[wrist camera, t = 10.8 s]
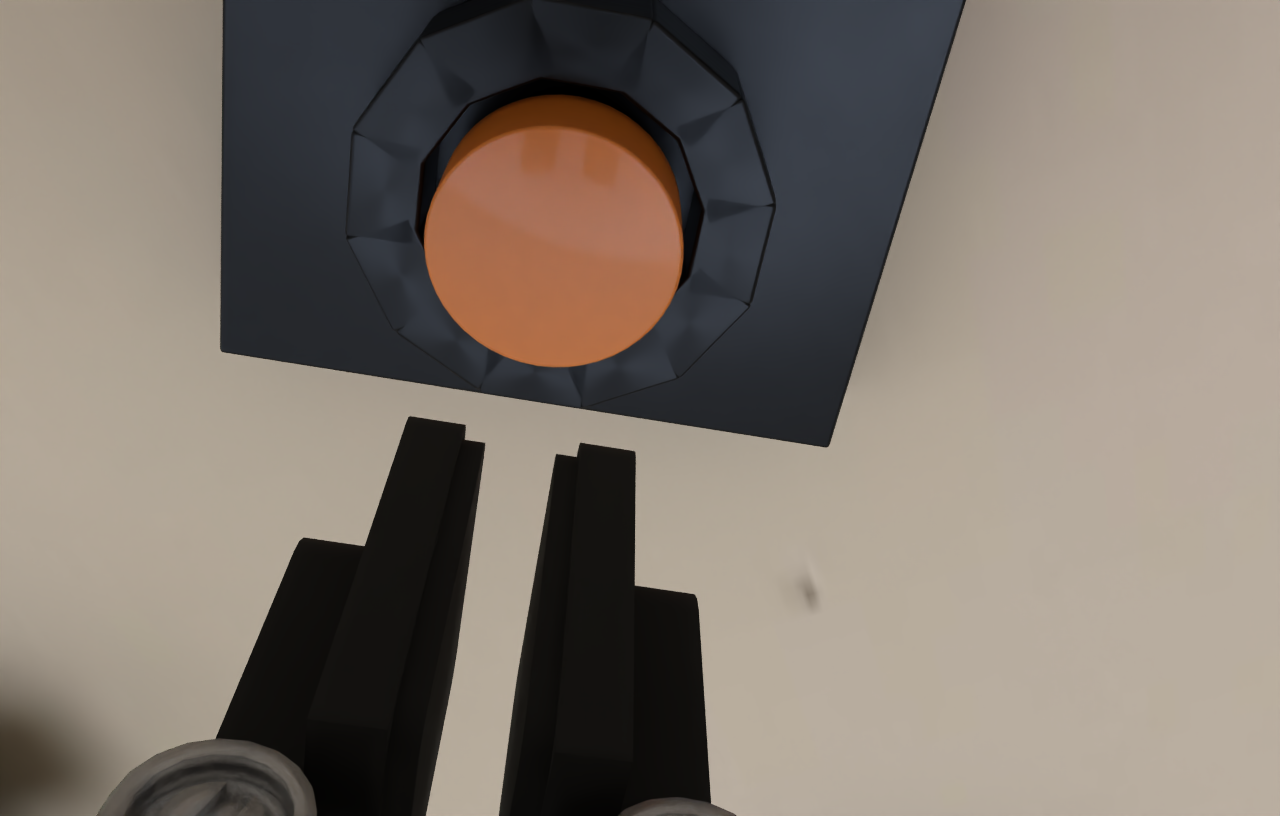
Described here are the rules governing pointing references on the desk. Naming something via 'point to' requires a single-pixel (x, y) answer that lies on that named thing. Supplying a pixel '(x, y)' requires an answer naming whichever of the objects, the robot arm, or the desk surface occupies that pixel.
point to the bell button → (556, 232)
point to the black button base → (648, 94)
